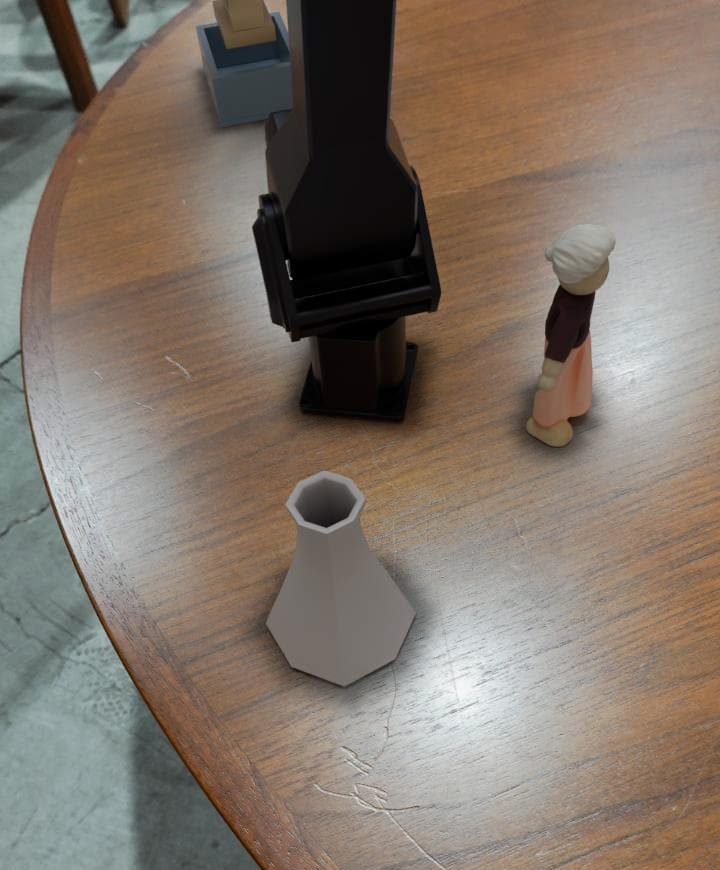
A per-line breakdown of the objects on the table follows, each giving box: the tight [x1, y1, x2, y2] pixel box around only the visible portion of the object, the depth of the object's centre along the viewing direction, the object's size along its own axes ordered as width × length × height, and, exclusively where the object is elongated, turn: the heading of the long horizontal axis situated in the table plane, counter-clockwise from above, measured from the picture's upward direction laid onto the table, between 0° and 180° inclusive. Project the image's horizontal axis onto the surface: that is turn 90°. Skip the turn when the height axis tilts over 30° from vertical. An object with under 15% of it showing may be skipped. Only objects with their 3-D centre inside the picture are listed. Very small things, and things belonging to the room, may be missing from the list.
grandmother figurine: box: [525, 223, 616, 448], centre depth 48 cm, size 8×4×13 cm, turn 171°
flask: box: [265, 469, 417, 687], centre depth 42 cm, size 7×7×10 cm
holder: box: [195, 11, 293, 128], centre depth 74 cm, size 9×7×4 cm
